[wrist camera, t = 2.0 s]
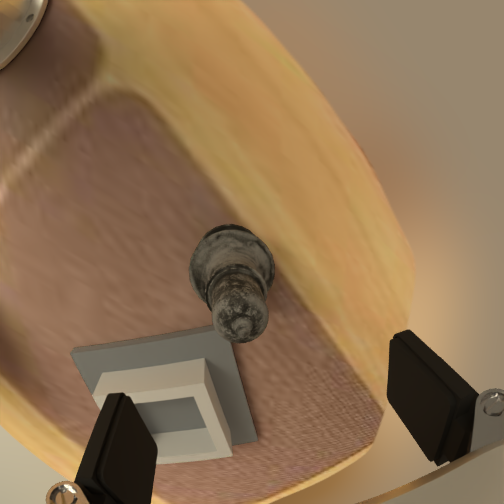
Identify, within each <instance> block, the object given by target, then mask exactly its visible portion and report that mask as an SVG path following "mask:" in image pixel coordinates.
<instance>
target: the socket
mask: <svg viewBox="0 0 504 504" xmlns="http://www.w3.org/2000/svg"><path fill="white" fill-rule="evenodd" d="M70 354H71V356H72V358H73V360H74V362H75V364H76V366H77V368H78V370H79V372H80V374H81V376H82V378H83V380H84V381H85V383H86V385H87V387H88V389H89V391H90V392H91V394H92V397H93V398H94V400H95V402H96V404H97V405H98V407H99V409H100V410H101V409H102V406H103V404H104V402H105V399H106V397H107V395H108V394H109V393H120V392H123V393H125V394H126V396H130V397H131V399H132V401H133V403H134V405H135V407H136V408H137V410H138V412H139V414H140V416H141V418H142V420H143V421H144V423H145V425H146V427H147V429H148V430H149V432H150V434H151V436H152V437H153V439H154V441H155V442H156V444H157V448H158V455H157V461H156V464H170V463H182V462H192V461H201V460H209V459H217V458H224V457H230V456H233V452H232V446H233V445H239V444H244V443H249V442H255V441H258V437H257V433H256V429H255V426H254V422H253V419H252V416H251V412H250V409H249V405H248V402H247V398H246V395H245V391H244V388H243V384H242V381H241V377H240V373H239V370H238V366H237V362H236V359H235V355H234V351H233V348H232V344H231V342H230V341H227V340H225V339H224V338H222V337H221V336H220V335H219V334H218V333H217V331H216V330H215V328H214V325H210V326H205V327H200V328H195V329H189V330H184V331H179V332H173V333H168V334H162V335H156V336H151V337H145V338H139V339H132V340H126V341H120V342H113V343H106V344H99V345H92V346H85V347H77V348H73V350H72V351H71V353H70Z"/></svg>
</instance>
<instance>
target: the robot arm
mask: <svg viewBox="0 0 504 504" xmlns="http://www.w3.org/2000/svg"><path fill="white" fill-rule="evenodd" d="M47 3H48V0H0V70H1V69H2V68H3V67H5V66H6V65H7V64H8V63H9V62H10V61H11V60H12V59H13V58H14V57H15V56H16V55H17V54H18V53H19V52H20V51H21V49H22V48H23V47H24V46H25V45H26V43H27V42H28V40H29V39H30V38H31V36H32V35H33V33H34V31H35V30H36V28H37V27H38V25H39V23H40V21H41V19H42V17H43V15H44V12H45V9H46V6H47ZM387 398H388V401H389V403H390V404H391V406H392V407H393V408H394V410H395V411H396V413H397V414H398V416H399V417H400V419H401V420H402V422H403V423H404V425H405V426H406V427H407V429H408V430H409V432H410V433H411V435H412V436H413V438H414V439H415V441H416V442H417V444H418V445H419V447H420V448H421V450H422V451H423V452H424V454H425V456H426V457H427V459H428V460H429V461H434V462H435V463H436V465H437V466H440V465H442V464H443V463H445V462H447V461H449V462H450V463H449V464H448V465H446V466H443V467H441V468H440V469H438V470H436V471H434V472H431V473H429V474H428V475H425V476H423V477H421V478H419V479H417V480H414V481H412V482H410V483H408V484H406V485H403V486H401V487H398V488H396V489H394V490H391V491H389V492H387V493H384V494H382V495H379V496H376V497H373V498H371V499H368V500H365V501H362V502H360V503H356V504H504V390H502V389H496V388H495V389H489V390H486V391H484V392H482V393H481V394H480V395H479V394H478V393H477V392H476V391H475V390H474V389H473V388H472V387H471V386H470V385H469V384H468V383H467V382H466V381H465V380H464V379H463V378H462V377H461V376H460V375H459V374H458V373H457V372H455V371H454V370H453V369H452V368H451V367H450V366H449V365H448V364H447V363H446V362H445V361H444V360H443V359H442V358H441V357H439V356H438V355H437V354H436V353H435V352H434V351H433V350H431V349H430V348H429V347H428V346H427V345H426V344H425V343H424V342H423V341H421V339H420V338H418V337H417V336H416V335H415V334H414V333H413V332H412V331H411V330H405V331H402V332H399V333H396V334H395V335H394V336H393V339H391V340H390V346H389V369H388V384H387ZM157 455H158V448H157V444H156V442H155V441H154V439H153V437H152V436H151V434H150V432H149V430H148V429H147V427H146V425H145V423H144V421H143V420H142V418H141V416H140V414H139V412H138V410H137V408H136V407H135V405H134V403H133V401H132V399H131V397H130V396H126V394H125V393H123V392H120V393H109V394H108V395H107V397H106V399H105V402H104V404H103V406H102V409H101V411H100V414H99V416H98V419H97V421H96V424H95V426H94V429H93V432H92V434H91V437H90V439H89V442H88V445H87V447H86V450H85V453H84V455H83V458H82V461H81V464H80V466H79V469H78V472H77V475H76V478H75V481H74V482H70V481H62V482H59V483H57V484H55V485H54V486H52V487H51V488H50V489H49V491H48V493H47V495H46V504H151V497H152V490H153V482H154V475H155V468H156V461H157Z"/></svg>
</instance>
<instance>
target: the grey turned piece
mask: <svg viewBox="0 0 504 504" xmlns="http://www.w3.org/2000/svg"><path fill="white" fill-rule="evenodd" d="M189 276H190V282H191V284H192V287H193V290H194V291H195V292H196V294H197V295H198V297H199V298H200V299H201V300H203V301H204V302H205V303H206V304H207V306H208V308H209V309H210V311H211V312H212V322H213V325H214V328H215V330H216V331H217V333H218V334H219V335H220V336H221V337H222V338H224V339H225V340H227V341H230V342H233V343H246V342H250V341H252V340H254V339H256V338H257V337H259V336H260V335H261V334H262V333H263V331H264V330H265V328H266V326H267V323H268V308H267V304H266V299H267V292H268V291H269V289H270V287H271V286H272V283H273V279H274V276H275V264H274V261H273V257H272V254H271V252H270V251H269V249H268V247H267V246H266V244H264V243H263V242H262V241H261V240H260V239H259V238H258V237H256V236H255V235H254V234H253V233H252V232H251V231H250V230H248V229H246V228H244V227H242V226H238V225H234V224H230V225H221V226H218V227H215V228H214V229H212V230H210V231H209V232H207V233H206V235H205V236H204V237H203V238H202V239H201V241H200V243H199V245H198V247H197V248H196V249H195V251H194V253H193V255H192V257H191V261H190V266H189Z"/></svg>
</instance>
